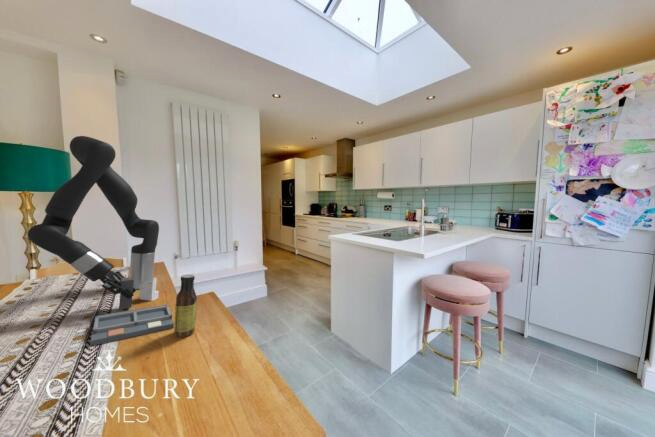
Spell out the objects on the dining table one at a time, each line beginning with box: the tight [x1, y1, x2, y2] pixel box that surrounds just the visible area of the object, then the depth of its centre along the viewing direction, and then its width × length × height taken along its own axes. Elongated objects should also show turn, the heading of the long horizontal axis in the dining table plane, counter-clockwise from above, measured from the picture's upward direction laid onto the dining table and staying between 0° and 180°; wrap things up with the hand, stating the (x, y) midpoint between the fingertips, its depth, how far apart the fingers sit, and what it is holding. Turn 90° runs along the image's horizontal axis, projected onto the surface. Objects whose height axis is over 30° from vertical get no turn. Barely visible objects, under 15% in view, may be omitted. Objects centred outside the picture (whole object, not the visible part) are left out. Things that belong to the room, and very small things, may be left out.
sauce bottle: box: [173, 273, 198, 338], centre depth 79 cm, size 6×6×20 cm
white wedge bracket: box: [138, 276, 160, 302], centre depth 102 cm, size 4×10×9 cm, turn 85°
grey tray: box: [89, 304, 175, 347], centre depth 81 cm, size 18×21×3 cm
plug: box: [118, 274, 134, 310], centre depth 91 cm, size 4×4×13 cm
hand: (132, 294), depth 92 cm, fingers closed on plug, 4 cm apart
